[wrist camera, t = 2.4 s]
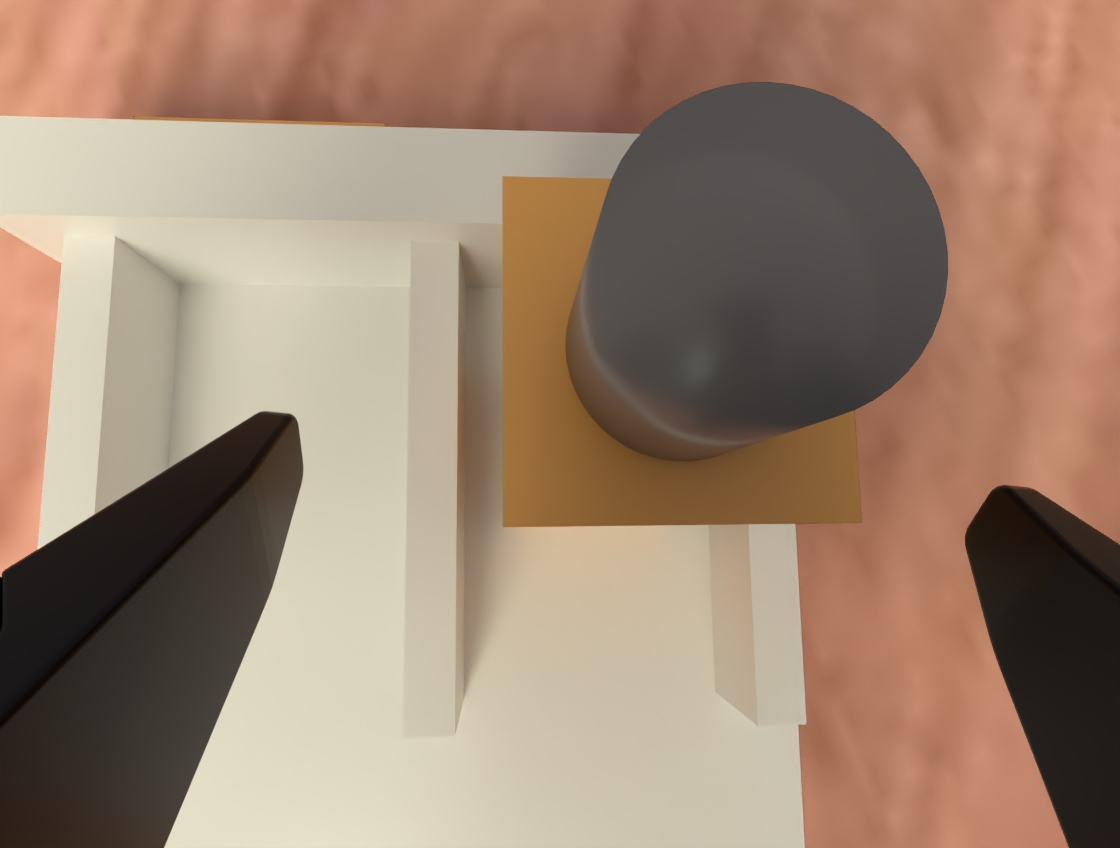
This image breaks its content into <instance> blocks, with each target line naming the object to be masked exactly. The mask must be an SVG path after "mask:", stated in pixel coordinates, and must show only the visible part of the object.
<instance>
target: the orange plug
mask: <svg viewBox="0 0 1120 848" xmlns="http://www.w3.org/2000/svg"><path fill="white" fill-rule="evenodd" d="M502 251H503V527H572V526H655V525H738V524H821V523H862V512H861V497H860V482H859V468H858V453H857V438H856V423H855V410H856V409H858V408H859V407H861V406H863V405H865V404H867V403H869V402H871V401H873V400H874V399H876V398H877V397H879V396H880V395H881V394H883V393H884V392H886V391H887V390H888V389H890V388H891V387H892V386H893V385H894V384H895V383H897V382H898V381H899V380H900V379H901V378H902V377H903V376H904V375H905V374H906V373H907V372H908V371H909V369H910V368H911V367H912V366H913V364H914V363H915V362H916V361H917V359H918V358H919V357H920V355H921V354H922V352H923V351H924V349H925V347H926V345H927V344H928V342H929V340H930V338H931V337H932V335H933V332H934V330H935V327H936V325H937V322H938V320H939V317H940V314H941V310H942V306H943V302H944V298H945V295H946V286H947V277H948V251H947V244H946V237H945V231H944V226H943V223H942V219H941V216H940V212H939V209H938V206H937V204H936V201H935V199H934V197H933V194H932V192H931V190H930V187H929V185H928V184H927V182H926V180H925V178H924V177H923V175H922V173H921V172H920V170H919V168H918V167H917V165H916V164H915V163H914V161H913V160H912V159H911V157H910V156H909V155H908V153H907V152H906V151H905V149H904V148H903V147H902V146H901V145H900V144H899V143H898V142H897V141H896V140H895V139H894V138H893V137H892V136H891V135H890V134H889V133H888V132H887V131H886V130H885V129H884V128H882V127H881V126H880V125H879V124H878V123H876V122H875V121H874V120H873V119H871V118H870V117H868V116H867V115H865V114H864V113H862V112H861V111H859V110H857V109H856V108H854V107H853V106H851V105H849V104H847V103H845V102H843V101H841V100H839V99H837V98H835V97H833V96H830V95H827V94H824V93H821V92H818V91H815V90H813V89H809V88H804V87H800V86H795V85H791V84H782V83H772V82H754V83H740V84H734V85H728V86H722V87H719V88H716V89H712V90H709V91H705V92H702V93H700V94H698V95H695V96H693V97H691V98H689V99H686V100H684V101H682V102H681V103H679V104H677V105H676V106H674V107H672V108H671V109H669V110H668V111H666V112H664V113H663V114H662V115H661V116H660V117H658V118H657V119H656V120H655V121H653V122H652V123H651V124H650V125H649V126H648V127H647V128H646V129H645V130H644V131H643V132H642V133H641V134H640V135H639V136H638V137H637V138H636V140H635V141H634V142H633V143H632V145H631V146H630V148H629V149H628V150H627V152H626V153H625V155H624V156H623V158H622V159H621V161H620V163H619V165H618V167H617V169H616V171H615V173H614V175H613V177H612V179H601V178H559V177H516V176H502Z"/></svg>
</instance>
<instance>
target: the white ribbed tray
mask: <svg viewBox="0 0 1120 848" xmlns="http://www.w3.org/2000/svg"><path fill="white" fill-rule="evenodd" d="M639 135H640V134H627V133H591V132H556V131H520V130H485V129H449V128H414V127H386V126H385V123H351V122H316V121H281V120H246V119H211V118H176V117H141V116H133V120H130V119H94V118H59V117H23V116H0V227H1V228H2V229H4V230H6V231H7V232H9V233H11V234H12V235H14V236H16V237H17V238H19V239H21V240H23V241H24V242H26V243H28V244H29V245H31V246H33V247H34V248H36V249H38V250H40V251H41V252H43V253H45V254H46V255H48V256H50V257H51V258H53V259H55V260H56V261H58V262H60V263H62V266H61V277H60V289H59V301H58V313H57V325H56V336H55V348H54V360H53V372H52V384H51V395H50V407H49V419H48V431H47V443H46V454H45V466H44V478H43V490H42V502H41V514H40V525H39V537H38V549H39V548H41V547H43V546H44V545H46V544H47V543H49V542H51V541H52V540H54V539H55V538H57V537H59V536H60V535H62V534H63V533H65V532H67V531H68V530H70V529H71V528H73V527H75V526H76V525H78V524H79V523H81V522H83V521H84V520H86V519H88V518H89V517H91V516H92V515H94V514H96V513H97V512H99V511H100V510H102V509H104V508H105V507H107V506H108V505H110V504H112V503H113V502H115V501H116V500H118V499H120V498H121V497H123V496H124V495H126V494H128V493H129V492H131V491H132V490H134V489H136V488H137V487H139V486H141V485H142V484H144V483H145V482H147V481H149V480H150V479H152V478H153V477H155V476H157V475H158V474H160V473H161V472H163V471H165V470H166V469H168V468H169V467H171V466H173V465H174V464H176V463H177V462H179V461H181V460H182V459H184V458H186V457H187V456H189V455H190V454H192V453H194V452H195V451H197V450H198V449H200V448H202V447H203V446H205V445H206V444H208V443H210V442H211V441H213V440H214V439H216V438H218V437H219V436H221V435H222V434H224V433H226V432H227V431H229V430H231V429H232V428H234V427H235V426H237V425H239V424H240V423H242V422H243V421H245V420H247V419H248V418H250V417H251V416H253V415H255V414H256V413H258V412H261V411H271V412H281V413H290V414H292V415H294V416H295V417H296V419H297V421H298V425H299V433H300V441H301V449H302V457H303V466H304V469H303V479H302V484H301V488H300V491H299V495H298V498H297V502H296V506H295V509H294V513H293V516H292V520H291V524H290V527H289V531H288V534H287V538H286V542H285V545H284V549H283V552H282V556H281V560H280V563H279V567H278V570H277V574H276V577H275V580H274V584H273V587H272V590H271V592H270V595H269V597H268V600H267V603H266V605H265V608H264V610H263V612H262V615H261V617H260V620H259V622H258V624H257V627H256V629H255V632H254V634H253V636H252V639H251V641H250V644H249V646H248V648H247V651H246V653H245V656H244V658H243V660H242V663H241V665H240V667H239V670H238V672H237V675H236V677H235V679H234V682H233V684H232V687H231V689H230V691H229V694H228V696H227V699H226V701H225V703H224V706H223V708H222V711H221V713H220V715H219V718H218V720H217V723H216V725H215V727H214V730H213V732H212V735H211V737H210V739H209V742H208V744H207V747H206V749H205V751H204V754H203V756H202V758H201V761H200V763H199V766H198V768H197V770H196V773H195V775H194V778H193V780H192V782H191V785H190V787H189V790H188V792H187V794H186V797H185V799H184V802H183V804H182V806H181V809H180V811H179V814H178V816H177V818H176V821H175V823H174V826H173V828H172V830H171V833H170V835H169V838H168V840H167V842H166V845H165V847H164V848H805V843H804V824H803V806H802V787H801V768H800V750H799V731H798V725H803V724H806V707H805V689H804V671H803V653H802V635H801V617H800V599H799V581H798V562H797V544H796V526H795V524H738V525H655V526H572V527H503V251H502V176H516V177H559V178H601V179H612V177H613V175H614V173H615V171H616V169H617V167H618V165H619V163H620V161H621V159H622V158H623V156H624V155H625V153H626V152H627V150H628V149H629V148H630V146H631V145H632V143H633V142H634V141H635V140H636V138H637V137H638V136H639ZM38 549H37V550H38Z"/></svg>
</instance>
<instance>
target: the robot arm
mask: <svg viewBox="0 0 1120 848" xmlns="http://www.w3.org/2000/svg"><path fill="white" fill-rule="evenodd" d="M303 469H304V466H303V457H302V449H301V441H300V433H299V425H298V421H297V419H296V417H295V416H294V415H292V414H290V413H281V412H271V411H261V412H258V413H256V414H255V415H253V416H251V417H250V418H248V419H247V420H245V421H243V422H242V423H240V424H239V425H237V426H235V427H234V428H232V429H231V430H229V431H227V432H226V433H224V434H222V435H221V436H219V437H218V438H216V439H214V440H213V441H211V442H210V443H208V444H206V445H205V446H203V447H202V448H200V449H198V450H197V451H195V452H194V453H192V454H190V455H189V456H187V457H186V458H184V459H182V460H181V461H179V462H177V463H176V464H174V465H173V466H171V467H169V468H168V469H166V470H165V471H163V472H161V473H160V474H158V475H157V476H155V477H153V478H152V479H150V480H149V481H147V482H145V483H144V484H142V485H141V486H139V487H137V488H136V489H134V490H132V491H131V492H129V493H128V494H126V495H124V496H123V497H121V498H120V499H118V500H116V501H115V502H113V503H112V504H110V505H108V506H107V507H105V508H104V509H102V510H100V511H99V512H97V513H96V514H94V515H92V516H91V517H89V518H88V519H86V520H84V521H83V522H81V523H79V524H78V525H76V526H75V527H73V528H71V529H70V530H68V531H67V532H65V533H63V534H62V535H60V536H59V537H57V538H55V539H54V540H52V541H51V542H49V543H47V544H46V545H44V546H43V547H41V548H39V549H38V550H36V551H34V552H33V553H31V554H30V555H28V556H26V557H25V558H23V559H22V560H20V561H18V562H17V563H15V564H14V565H12V566H10V567H9V568H7V569H6V570H4V571H3V572H2V578H1V577H0V848H164V847H165V845H166V842H167V840H168V838H169V835H170V833H171V830H172V828H173V826H174V823H175V821H176V818H177V816H178V814H179V811H180V809H181V806H182V804H183V802H184V799H185V797H186V794H187V792H188V790H189V787H190V785H191V782H192V780H193V778H194V775H195V773H196V770H197V768H198V766H199V763H200V761H201V758H202V756H203V754H204V751H205V749H206V747H207V744H208V742H209V739H210V737H211V735H212V732H213V730H214V727H215V725H216V723H217V720H218V718H219V715H220V713H221V711H222V708H223V706H224V703H225V701H226V699H227V696H228V694H229V691H230V689H231V687H232V684H233V682H234V679H235V677H236V675H237V672H238V670H239V667H240V665H241V663H242V660H243V658H244V656H245V653H246V651H247V648H248V646H249V644H250V641H251V639H252V636H253V634H254V632H255V629H256V627H257V624H258V622H259V620H260V617H261V615H262V612H263V610H264V608H265V605H266V603H267V600H268V597H269V595H270V592H271V590H272V587H273V584H274V580H275V577H276V574H277V570H278V567H279V563H280V560H281V556H282V552H283V549H284V545H285V542H286V538H287V534H288V531H289V527H290V524H291V520H292V516H293V513H294V509H295V506H296V502H297V498H298V495H299V491H300V488H301V484H302V479H303ZM965 546H966V551H967V554H968V558H969V562H970V566H971V570H972V573H973V577H974V581H975V585H976V588H977V592H978V596H979V600H980V603H981V607H982V611H983V615H984V618H985V622H986V626H987V630H988V633H989V637H990V640H991V643H992V647H993V650H994V653H995V656H996V659H997V661H998V664H999V667H1000V670H1001V672H1002V675H1003V677H1004V680H1005V683H1006V685H1007V688H1008V690H1009V693H1010V696H1011V698H1012V701H1013V703H1014V706H1015V709H1016V711H1017V714H1018V716H1019V719H1020V722H1021V724H1022V727H1023V729H1024V732H1025V735H1026V737H1027V740H1028V743H1029V745H1030V748H1031V750H1032V753H1033V756H1034V758H1035V761H1036V763H1037V766H1038V769H1039V771H1040V774H1041V776H1042V779H1043V782H1044V784H1045V787H1046V789H1047V792H1048V795H1049V797H1050V800H1051V802H1052V805H1053V808H1054V810H1055V813H1056V815H1057V818H1058V821H1059V823H1060V826H1061V828H1062V831H1063V834H1064V836H1065V839H1066V841H1067V844H1068V847H1069V848H1120V545H1119V544H1118V543H1116V542H1115V541H1113V540H1112V539H1110V538H1109V537H1107V536H1105V535H1104V534H1102V533H1101V532H1099V531H1098V530H1096V529H1095V528H1093V527H1092V526H1090V525H1089V524H1087V523H1085V522H1084V521H1082V520H1081V519H1079V518H1078V517H1076V516H1075V515H1073V514H1072V513H1070V512H1068V511H1067V510H1065V509H1064V508H1062V507H1061V506H1059V505H1058V504H1056V503H1055V502H1053V501H1052V500H1050V499H1048V498H1047V497H1045V496H1044V495H1042V494H1041V493H1039V492H1038V491H1036V490H1034V489H1031V488H1028V487H1019V486H1009V485H1002V486H998V487H996V488H995V489H993V490H992V491H991V492H990V494H989V495H988V497H987V498H986V500H985V501H984V503H983V504H982V506H981V508H980V509H979V511H978V512H977V514H976V515H975V517H974V518H973V520H972V522H971V523H970V525H969V526H968V528H967V531H966V535H965Z"/></svg>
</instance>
